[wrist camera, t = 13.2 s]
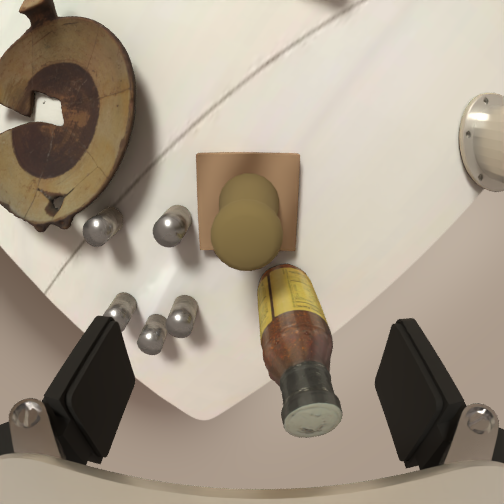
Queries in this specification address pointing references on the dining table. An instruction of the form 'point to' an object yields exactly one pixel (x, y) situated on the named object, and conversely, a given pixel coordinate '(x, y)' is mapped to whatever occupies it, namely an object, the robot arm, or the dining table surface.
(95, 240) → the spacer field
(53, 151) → the broken ceramic bowl
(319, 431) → the sauce bottle
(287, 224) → the walnut board
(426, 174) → the dining table surface
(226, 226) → the olive pawn
